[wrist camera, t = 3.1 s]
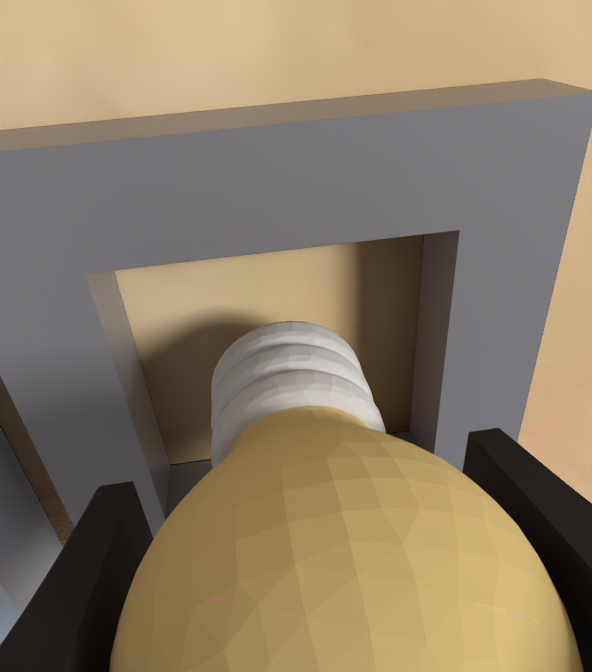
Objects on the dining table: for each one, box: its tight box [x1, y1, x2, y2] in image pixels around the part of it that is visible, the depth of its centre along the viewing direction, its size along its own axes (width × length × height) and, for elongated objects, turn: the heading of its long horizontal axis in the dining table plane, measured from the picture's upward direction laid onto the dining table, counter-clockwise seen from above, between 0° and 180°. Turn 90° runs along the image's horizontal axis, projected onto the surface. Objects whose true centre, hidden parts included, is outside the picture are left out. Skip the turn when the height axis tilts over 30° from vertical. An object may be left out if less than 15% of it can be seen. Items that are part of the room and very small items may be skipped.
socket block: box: [0, 79, 592, 538], centre depth 13 cm, size 12×12×2 cm
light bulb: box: [109, 321, 584, 672], centre depth 9 cm, size 6×6×10 cm
